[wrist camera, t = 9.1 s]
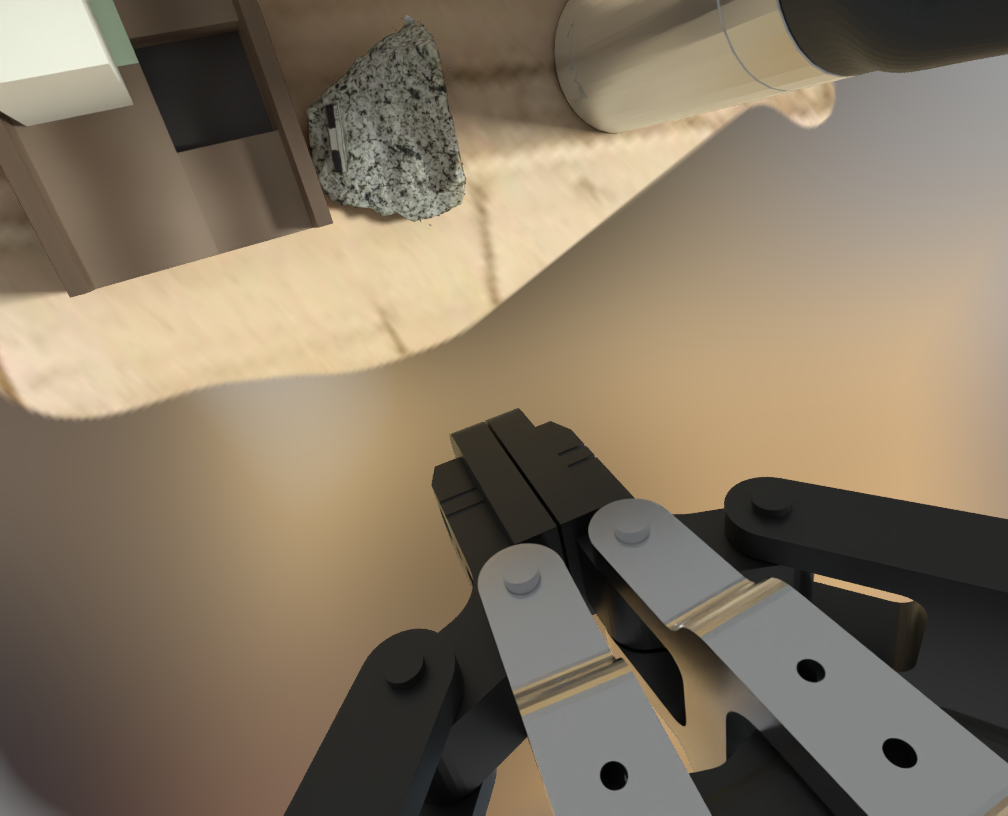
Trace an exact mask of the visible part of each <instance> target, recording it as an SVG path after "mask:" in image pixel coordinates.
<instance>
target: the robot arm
mask: <svg viewBox="0 0 1008 816" xmlns="http://www.w3.org/2000/svg"><path fill="white" fill-rule="evenodd" d="M1005 54H1008V0H569V1H568V2H567V4H566V5H565V8H564V10H563V12H562V14H561V17H560V19H559V23H558V27H557V31H556V36H555V51H554V55H555V64H556V72H557V75H558V79H559V83H560V86H561V89H562V91H563V93H564V95H565V97H566V99H567V101H568V103H569V104H570V106H571V107H572V108H573V110H574V111H575V112H576V114H577V115H578V116H579V117H580V118H582V119H583V120H584V121H585V122H586V123H587V124H589V125H591V126H592V127H594V128H596V129H598V130H601V131H605V132H609V133H623V132H627V131H631V130H636V129H640V128H644V127H648V126H652V125H656V124H661V123H666V122H670V121H674V120H678V119H682V118H686V117H690V116H695V115H699V114H703V113H707V112H711V111H715V110H719V109H723V108H727V107H731V106H735V105H740V104H744V103H748V102H752V101H756V100H760V99H764V98H768V97H772V96H776V95H781V94H785V93H789V92H793V91H797V90H800V89H804V88H808V87H812V86H816V85H820V84H824V83H828V82H832V81H836V80H840V79H844V78H849V77H853V76H856V75H861V74H865V73H869V72H873V71H883V72H891V73H905V72H914V71H920V70H926V69H931V68H936V67H941V66H946V65H951V64H956V63H961V62H966V61H972V60H977V59H983V58H988V57H994V56H1000V55H1005ZM450 440H451V444H452V447H453V450H454V454H455V457H456V459H453V460H451V461H448V462H446V463H443V464H441V465H438V466H435V469H434V474H433V480H432V488H433V491H434V494H435V497H436V500H437V503H438V505H439V508H440V511H441V514H442V517H443V520H444V523H445V526H446V528H447V531H448V534H449V537H450V540H451V542H452V545H453V547H454V549H455V551H456V554H457V556H458V558H459V560H460V563H461V565H462V567H463V569H464V572H465V574H466V576H467V578H468V581H469V583H470V585H471V587H472V593H471V596H470V598H469V601H468V603H467V605H466V606H465V608H464V609H463V610H462V612H461V613H460V614H459V615H458V616H457V617H456V618H455V619H454V620H453V621H452V622H451V623H449V624H448V625H447V626H446V627H445V628H443V629H442V630H441V631H440V632H438V633H437V632H435V631H432V630H427V629H411V630H406V631H403V632H400V633H397V634H395V635H393V636H391V637H389V638H388V639H386V640H385V641H383V642H382V643H381V644H379V645H378V646H377V647H376V648H375V649H374V650H373V651H372V652H371V654H370V655H369V656H368V657H367V659H366V661H365V662H364V664H363V666H362V668H361V670H360V671H359V673H358V676H357V677H356V679H355V681H354V683H353V685H352V687H351V689H350V690H349V692H348V694H347V696H346V698H345V700H344V702H343V704H342V706H341V708H340V709H339V711H338V713H337V715H336V717H335V719H334V721H333V723H332V725H331V727H330V729H329V730H328V733H327V734H326V736H325V738H324V740H323V742H322V744H321V746H320V747H319V749H318V751H317V753H316V755H315V757H314V759H313V761H312V763H311V765H310V767H309V769H308V770H307V772H306V774H305V776H304V778H303V780H302V782H301V784H300V786H299V787H298V790H297V791H296V793H295V795H294V797H293V799H292V801H291V803H290V805H289V806H288V808H287V810H286V812H285V814H284V816H485V815H486V811H487V808H488V804H489V801H490V797H491V794H492V790H493V787H494V784H495V779H496V770H497V767H498V766H499V765H500V764H501V763H502V761H504V760H505V759H506V758H507V757H508V756H509V754H511V753H512V752H513V750H515V749H516V748H517V747H518V746H519V745H520V744H521V742H522V741H523V740H524V739H525V738H526V737H527V738H528V741H529V744H530V746H531V749H532V752H533V755H534V758H535V761H536V764H537V767H538V770H539V773H540V776H541V779H542V782H543V785H544V788H545V791H546V793H547V796H548V800H549V802H550V805H551V809H552V811H553V814H554V816H1008V519H1003V518H998V517H992V516H987V515H981V514H976V513H969V512H965V511H959V510H953V509H948V508H942V507H937V506H931V505H925V504H920V503H915V502H909V501H904V500H898V499H892V498H887V497H881V496H875V495H870V494H864V493H859V492H854V491H847V490H843V489H837V488H831V487H826V486H820V485H815V484H809V483H804V482H798V481H792V480H787V479H782V478H774V477H758V478H752V479H748V480H745V481H742V482H740V483H738V484H736V485H735V486H734V487H732V488H731V489H730V490H729V492H728V493H727V495H726V497H725V501H724V508H723V509H717V510H711V511H705V512H698V513H692V514H671V513H670V512H669V511H668V510H666V509H665V508H664V507H662V506H661V505H659V504H657V503H655V502H652V501H648V500H644V499H635V498H634V497H633V496H632V495H631V494H630V493H629V492H628V490H626V488H625V487H624V486H623V485H622V484H621V483H620V482H619V481H618V480H617V479H616V478H615V476H613V474H612V473H611V472H610V471H609V470H608V469H607V468H606V467H605V466H604V465H603V464H602V463H601V461H600V460H598V458H595V456H594V454H593V453H592V452H591V451H590V450H589V449H588V448H587V447H586V446H584V443H583V442H582V441H581V440H580V439H579V438H578V437H577V436H576V435H575V433H574V432H573V431H572V430H570V429H568V428H566V427H563V426H561V425H559V424H556V423H554V422H551V421H550V422H547V423H545V424H542V425H540V426H537V427H535V426H534V425H533V424H532V423H531V422H530V420H529V419H528V418H527V417H526V416H525V414H524V413H523V412H522V411H521V410H520V409H519V408H517V409H514V410H512V411H509V412H506V413H504V414H501V415H499V416H496V417H493V418H491V419H488V420H486V421H485V423H484V422H481V423H478V424H475V425H473V426H470V427H468V428H465V429H462V430H460V431H457V432H454V433H452V434H450ZM814 574H818V575H822V576H826V577H830V578H835V579H839V580H842V581H846V582H851V583H854V584H859V585H863V586H866V587H871V588H875V589H879V590H883V591H886V592H890V593H895V594H898V595H902V596H905V597H908V598H910V599H912V600H914V601H912V602H908V603H898V602H892V601H888V600H884V599H880V598H876V597H872V596H868V595H865V594H861V593H857V592H853V591H849V590H845V589H841V588H837V587H833V586H829V585H826V584H822V583H817V582H814V581H813V580H814ZM594 614H597V616H598V617H599V619H600V620H601V622H602V623H603V625H604V626H605V629H606V635H607V640H608V645H609V647H608V645H607V643H606V641H605V639H604V637H603V635H602V633H601V632H600V630H599V628H598V626H597V624H596V622H595V621H594V618H593V617H592V615H594ZM609 648H610V649H609ZM611 651H612V652H611ZM612 653H613V654H612ZM614 656H615V657H616V658H615V657H614ZM650 703H651V704H650ZM651 705H652V706H653V707H654V709H655V710H656V711H657V713H658V714H659V715H660V717H661V718H662V719H663V720H664V722H665V723H666V725H667V726H668V727H669V729H670V730H671V731H672V732H673V734H674V735H675V737H676V738H677V739H678V741H679V743H680V744H681V746H682V748H683V749H684V751H685V753H686V756H687V758H688V761H689V763H690V766H691V768H692V770H693V772H694V773H688V771H687V770H686V768H685V766H684V764H683V763H682V761H681V759H680V757H679V755H678V753H677V751H676V750H675V748H674V746H673V744H672V742H671V741H670V739H669V737H668V735H667V733H666V731H665V730H664V728H663V726H662V724H661V722H660V720H659V719H658V717H657V715H656V713H655V711H654V710H653V708H652V706H651Z"/></svg>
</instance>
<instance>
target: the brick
mask: <svg viewBox="0 0 1008 816" xmlns="http://www.w3.org/2000/svg"><path fill="white" fill-rule="evenodd" d="M130 105H134V104H133V102H132V99H131V97H130V95H129V93H128V90H127V88H126V86H125V83H124V81H123V79H122V77H121V74H120V72H119V70H118V67H117V65H116V63H115V60H114V58H113V56H112V54H111V51H110V49H109V47H108V44H107V42H106V40H105V38H104V35H103V33H102V31H101V28H100V26H99V24H98V22H97V19H96V17H95V15H94V12H93V10H92V8H91V6H90V3H89V1H88V0H0V111H1V112H3V113H5V114H6V115H8V116H10V117H11V118H13V119H15V120H17V121H18V122H20V123H22V124H24V125H25V126H31V125H36V124H41V123H46V122H51V121H56V120H61V119H66V118H71V117H76V116H81V115H86V114H91V113H96V112H101V111H106V110H111V109H116V108H121V107H125V106H130Z"/></svg>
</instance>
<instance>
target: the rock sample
mask: <svg viewBox="0 0 1008 816" xmlns="http://www.w3.org/2000/svg"><path fill="white" fill-rule="evenodd" d="M401 19H402V18H401ZM404 19H405V20H406V23H405V24H403V25H404V26H403V27H402V28H401V30H400V31H398V32H397V33H393V34H390V35H388V36H387V37H385V38H384V39H383V40H381V41H380V42H379V43H378V44H376V45H374V46H373V48H372V49H371V50H370V51H369V52H368V53H367V54H366V55H365V56H361V57H358V58H357V59H356V61H355V63H354V64H353V65H352V67H351V68H350V69H349V70H348V72H347V73H346V74H345V75H344V76H343V77H342V78H341V79H340V80H339V81H338V82H337V83H335V84H333V85H331V86H330V87H329V88H328V89H327V90H326V91H325V92H324V93H323V94H322V96H321V98H320V99H319V100H318V101H317V102H315V103H314V104H312V105H311V106H310V107H309V108H308V109H307V112H306V113H307V118H308V128H309V142H310V150H311V160H312V162H313V165H314V168H315V171H316V174H317V177H318V180H319V183H320V186H321V187H322V188H323V190H324V192H325V194H327V195H328V198H329V199H330V200H332V201H333V202H335V203H338V204H340V205H342V206H345V205H350V206H354V207H364V208H371V209H373V210H375V211H376V212H377V213H379V214H381V215H382V216H386V215H392V214H395V213H399V214H400V215H402V216H403V217H405V218H406V219H408V220H411V221H414V222H415V221H418V220H420V221H421V220H423V219H428V218H432V217H434V216H436V215H437V216H439V215H440V214H443V213H445V212H448V211H449V210H450V209H452V208H453V207H456V206H457V205H460V204H461V203H462V199H463V197H464V195H465V193H464V191H465V184H466V182H465V181H466V177H465V175H464V172H463V167H462V165H463V163H462V162H461V157H460V153H459V148H458V142H457V137H456V132H455V130H454V123H453V118H452V115H451V114H450V111H449V106H448V102H447V96H448V95H447V91H446V85H445V83H444V74H443V72H442V66H441V63H442V62H441V60H440V57H439V53H438V50H437V47H436V45H435V43H434V40H433V36H432V35H431V34H429V33H428V32H427V30H425V29H424V28H423V27H424V25H422V24H423V23H424V22H423V23H422V24H421V23H420V26H419V27H417V26H416V25H415V21H414V19H412V18H411V17H410V16H409V15H406V16H405V17H404ZM418 22H420V21H418ZM449 59H450V58H449ZM449 70H451V69H449ZM335 80H336V78H335ZM329 83H330V82H329ZM452 84H453V82H452ZM447 85H448V84H447ZM452 92H453V91H452ZM382 219H384V218H382ZM429 225H430V224H429ZM430 226H431V225H430Z"/></svg>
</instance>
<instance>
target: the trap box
mask: <svg viewBox="0 0 1008 816" xmlns="http://www.w3.org/2000/svg"><path fill="white" fill-rule="evenodd" d="M88 1H89V3H90V6H91V8H92V10H93V12H94V15H95V17H96V19H97V22H98V24H99V26H100V28H101V31H102V33H103V35H104V38H105V40H106V42H107V44H108V47H109V49H110V51H111V54H112V56H113V58H114V60H115V63H116V65H117V67H118V70H119V72H120V74H121V77H122V79H123V81H124V83H125V86H126V88H127V90H128V93H129V95H130V97H131V99H132V102H133V104H134V105H130V106H125V107H121V108H116V109H111V110H106V111H101V112H96V113H91V114H86V115H81V116H76V117H71V118H66V119H61V120H56V121H51V122H46V123H41V124H36V125H31V126H25V125H24V124H22V123H20V122H18V121H17V120H15V119H13V118H11V117H10V116H8V115H6V114H5V113H3V112H1V111H0V165H1V167H2V169H3V171H4V173H5V175H6V177H7V179H8V181H9V182H10V184H11V186H12V188H13V190H14V192H15V194H16V196H17V198H18V200H19V201H20V203H21V205H22V207H23V209H24V211H25V213H26V215H27V217H28V219H29V220H30V222H31V224H32V226H33V228H34V230H35V232H36V234H37V236H38V238H39V239H40V241H41V243H42V245H43V247H44V249H45V251H46V253H47V255H48V257H49V258H50V260H51V262H52V264H53V266H54V268H55V270H56V272H57V274H58V276H59V277H60V279H61V281H62V283H63V285H64V287H65V289H66V291H67V293H68V295H69V296H70V298H71V297H74V296H78V295H81V294H85V293H88V292H91V291H93V290H95V289H97V288H101V287H104V286H108V285H112V284H115V283H119V282H122V281H126V280H129V279H133V278H136V277H140V276H143V275H147V274H151V273H154V272H158V271H161V270H165V269H168V268H172V267H175V266H179V265H182V264H186V263H190V262H193V261H197V260H200V259H204V258H207V257H211V256H214V255H218V254H221V253H225V252H229V251H232V250H236V249H239V248H243V247H246V246H250V245H253V244H257V243H260V242H264V241H268V240H271V239H275V238H278V237H282V236H285V235H289V234H292V233H296V232H299V231H303V230H306V229H310V228H316V227H322V226H325V225H329V224H332V223H333V221H332V218H331V215H330V212H329V209H328V206H327V203H326V200H325V197H324V194H323V192H322V189H321V186H320V183H319V180H318V177H317V174H316V171H315V168H314V165H313V162H312V160H311V157H310V154H309V151H308V148H307V145H306V142H305V139H304V136H303V133H302V130H301V128H300V125H299V122H298V119H297V116H296V113H295V110H294V107H293V104H292V101H291V98H290V95H289V93H288V90H287V87H286V84H285V81H284V78H283V75H282V72H281V69H280V66H279V63H278V61H277V58H276V55H275V52H274V49H273V46H272V43H271V40H270V37H269V34H268V31H267V29H266V26H265V23H264V20H263V17H262V14H261V11H260V8H259V5H258V2H257V0H88Z"/></svg>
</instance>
